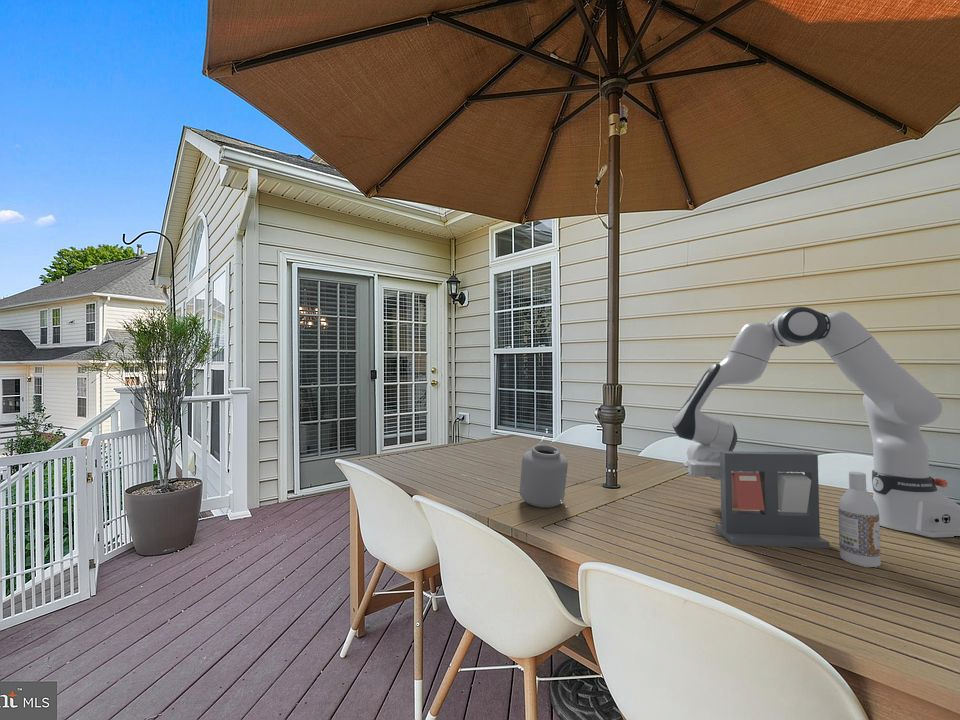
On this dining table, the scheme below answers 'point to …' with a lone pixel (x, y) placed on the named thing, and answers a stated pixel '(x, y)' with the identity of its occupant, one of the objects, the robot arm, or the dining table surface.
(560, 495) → the jar
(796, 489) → the grey rocker
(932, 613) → the dining table surface
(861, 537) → the bath foam
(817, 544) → the switch panel
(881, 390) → the robot arm
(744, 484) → the red rocker
